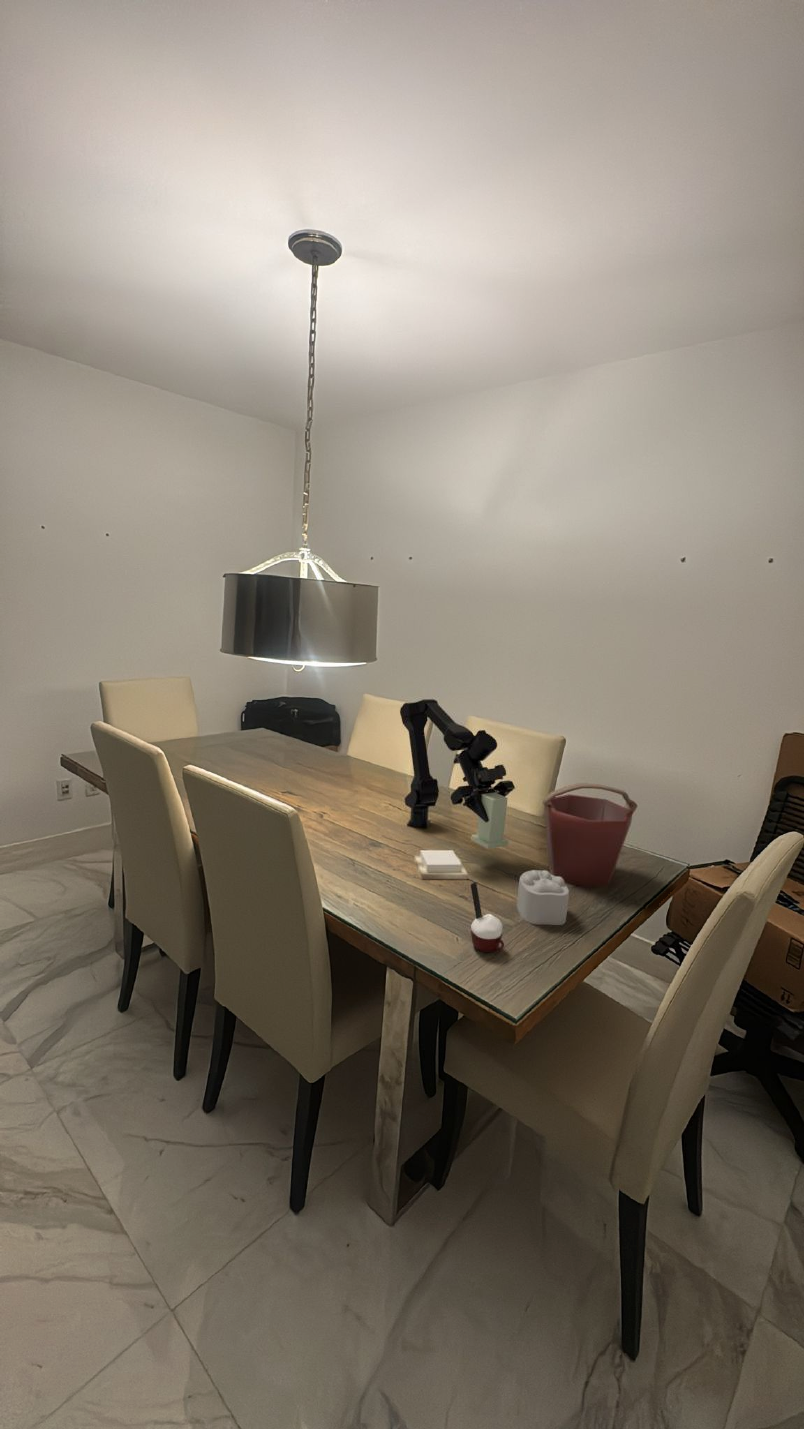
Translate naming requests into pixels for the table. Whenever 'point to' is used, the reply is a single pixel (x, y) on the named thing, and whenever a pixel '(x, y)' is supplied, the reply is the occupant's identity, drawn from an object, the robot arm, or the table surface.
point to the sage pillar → (492, 822)
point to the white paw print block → (542, 898)
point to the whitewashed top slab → (440, 861)
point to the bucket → (585, 834)
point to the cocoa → (485, 927)
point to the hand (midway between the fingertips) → (495, 820)
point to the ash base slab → (439, 875)
